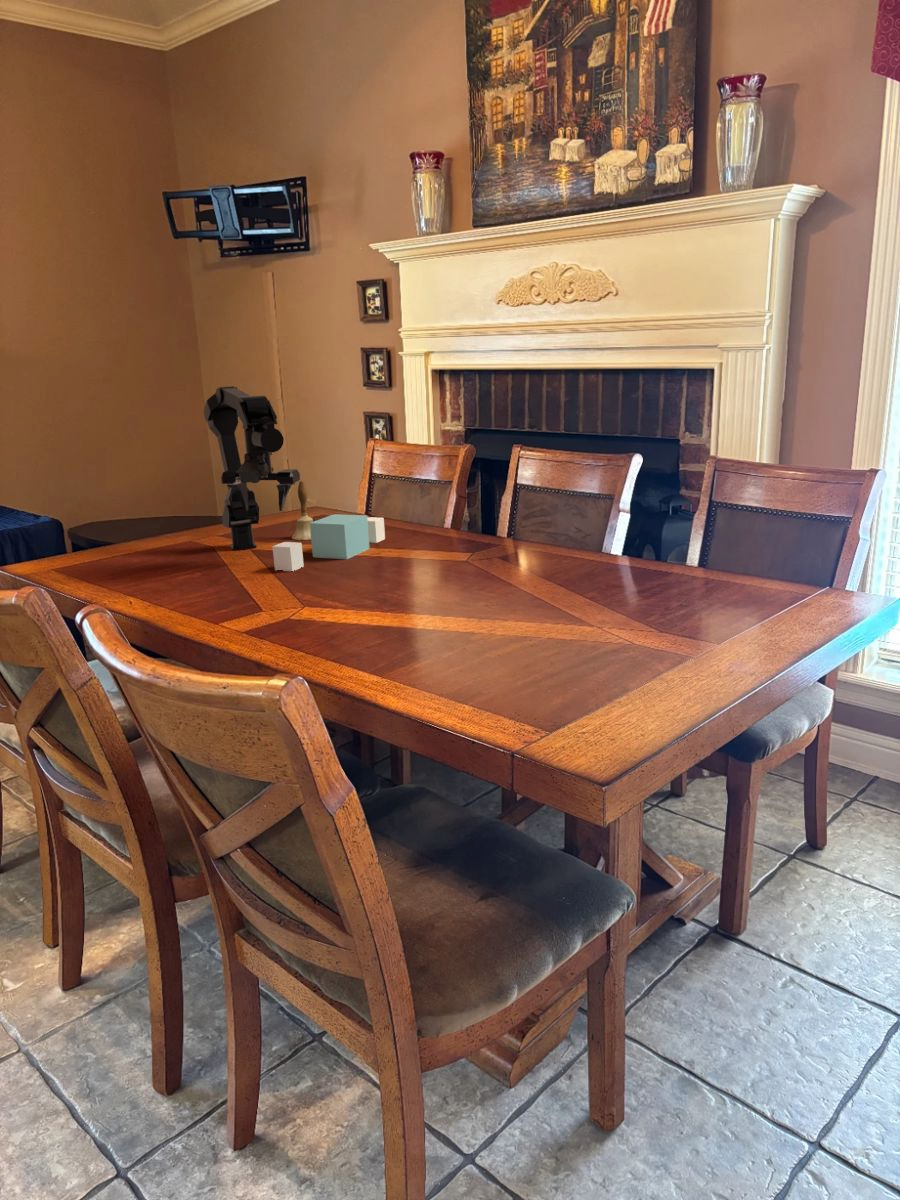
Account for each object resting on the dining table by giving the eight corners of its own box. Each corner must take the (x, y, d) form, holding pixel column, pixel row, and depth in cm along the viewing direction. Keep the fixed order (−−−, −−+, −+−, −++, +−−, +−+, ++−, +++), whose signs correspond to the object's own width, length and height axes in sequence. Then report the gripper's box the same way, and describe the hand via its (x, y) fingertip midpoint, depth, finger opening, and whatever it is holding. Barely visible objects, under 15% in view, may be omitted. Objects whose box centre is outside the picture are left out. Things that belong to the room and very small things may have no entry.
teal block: (312, 557, 217) (309, 523, 215) (336, 547, 228) (333, 514, 225) (347, 559, 213) (344, 524, 211) (369, 549, 224) (367, 515, 221)
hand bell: (290, 536, 244) (284, 480, 240) (318, 533, 247) (313, 478, 242) (293, 541, 237) (288, 484, 232) (323, 538, 239) (318, 482, 234)
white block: (275, 570, 206) (272, 546, 204) (286, 565, 210) (284, 541, 208) (292, 571, 204) (290, 547, 202) (303, 566, 208) (301, 542, 206)
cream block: (360, 542, 232) (358, 520, 231) (369, 538, 237) (367, 517, 235) (376, 543, 230) (375, 521, 229) (385, 539, 235) (383, 517, 233)
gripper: (208, 453, 203) (215, 517, 208) (282, 452, 200) (287, 517, 205) (227, 446, 214) (233, 508, 218) (298, 446, 210) (303, 508, 215)
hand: (263, 510), depth 214 cm, fingers open, 9 cm apart
